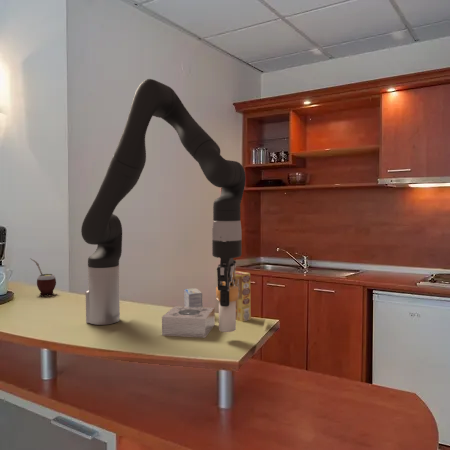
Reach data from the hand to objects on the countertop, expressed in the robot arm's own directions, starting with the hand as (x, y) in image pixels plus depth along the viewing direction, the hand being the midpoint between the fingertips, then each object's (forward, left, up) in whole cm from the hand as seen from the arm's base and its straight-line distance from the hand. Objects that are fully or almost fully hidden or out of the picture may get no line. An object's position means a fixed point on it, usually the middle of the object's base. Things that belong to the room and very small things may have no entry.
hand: (227, 302), depth 112 cm
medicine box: (-15, +23, -11) cm, 30 cm away
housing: (-12, +7, -11) cm, 18 cm away
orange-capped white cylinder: (0, 0, -7) cm, 7 cm away
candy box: (-1, +22, -11) cm, 25 cm away
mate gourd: (-81, +44, -11) cm, 93 cm away
